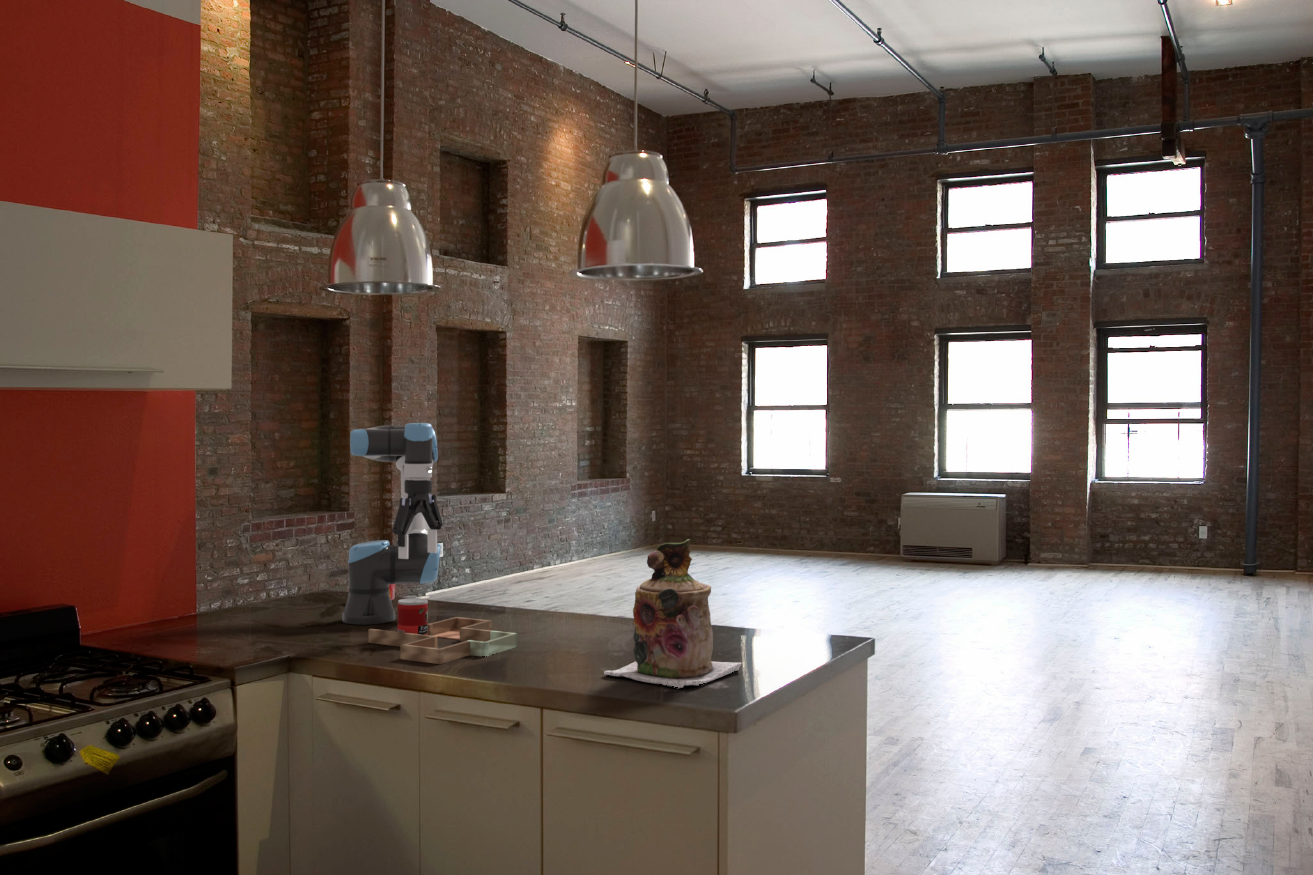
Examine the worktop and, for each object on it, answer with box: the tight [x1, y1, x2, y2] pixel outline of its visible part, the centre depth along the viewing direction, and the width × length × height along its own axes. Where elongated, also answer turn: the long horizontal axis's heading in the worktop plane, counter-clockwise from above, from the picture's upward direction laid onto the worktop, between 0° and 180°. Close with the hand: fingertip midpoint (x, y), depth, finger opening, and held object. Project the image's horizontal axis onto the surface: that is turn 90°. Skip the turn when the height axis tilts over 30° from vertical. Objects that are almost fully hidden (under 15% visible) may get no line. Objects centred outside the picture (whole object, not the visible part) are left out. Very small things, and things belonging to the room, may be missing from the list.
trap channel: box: [367, 616, 519, 665], centre depth 292 cm, size 38×38×4 cm
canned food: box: [397, 597, 429, 635], centre depth 297 cm, size 8×8×11 cm
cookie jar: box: [603, 538, 742, 689], centre depth 259 cm, size 25×25×32 cm
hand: (418, 555), depth 305 cm, fingers open, 13 cm apart
